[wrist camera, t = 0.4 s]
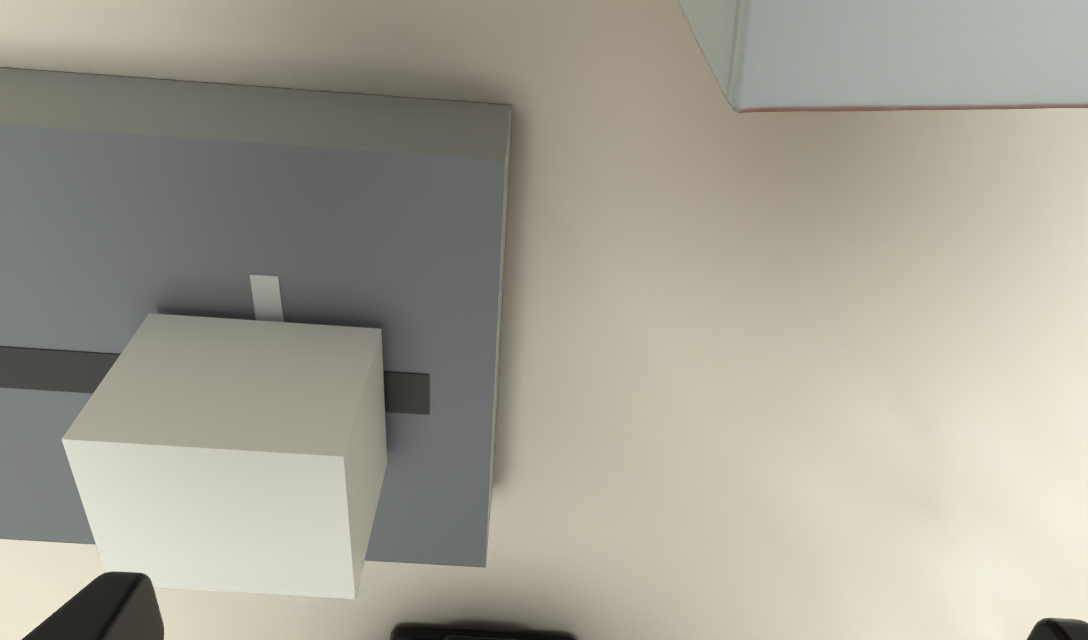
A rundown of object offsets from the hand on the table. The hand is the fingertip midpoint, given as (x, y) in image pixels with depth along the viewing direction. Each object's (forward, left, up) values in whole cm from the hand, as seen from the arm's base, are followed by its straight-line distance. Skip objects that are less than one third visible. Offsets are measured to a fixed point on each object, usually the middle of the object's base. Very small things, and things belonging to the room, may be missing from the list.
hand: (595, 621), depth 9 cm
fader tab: (-6, +6, -10) cm, 13 cm away
